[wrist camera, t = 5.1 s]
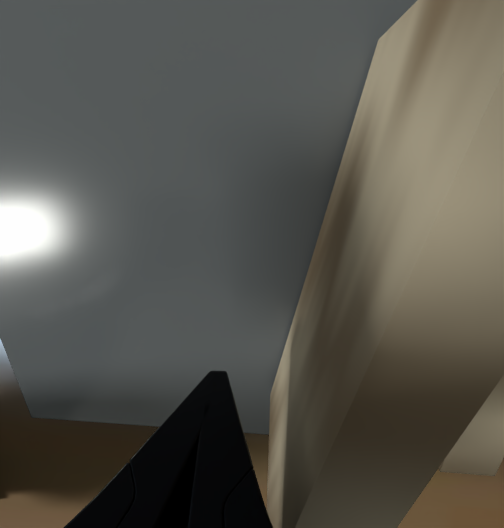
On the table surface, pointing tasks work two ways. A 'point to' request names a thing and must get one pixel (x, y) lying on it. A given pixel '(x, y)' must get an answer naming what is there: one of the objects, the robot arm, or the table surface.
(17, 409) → the table surface
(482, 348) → the beige flat block
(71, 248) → the slate board
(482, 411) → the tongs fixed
